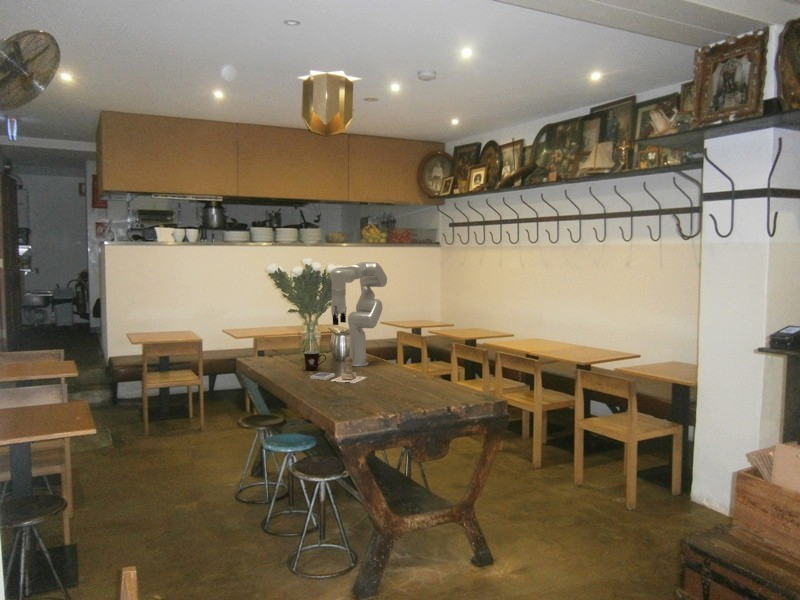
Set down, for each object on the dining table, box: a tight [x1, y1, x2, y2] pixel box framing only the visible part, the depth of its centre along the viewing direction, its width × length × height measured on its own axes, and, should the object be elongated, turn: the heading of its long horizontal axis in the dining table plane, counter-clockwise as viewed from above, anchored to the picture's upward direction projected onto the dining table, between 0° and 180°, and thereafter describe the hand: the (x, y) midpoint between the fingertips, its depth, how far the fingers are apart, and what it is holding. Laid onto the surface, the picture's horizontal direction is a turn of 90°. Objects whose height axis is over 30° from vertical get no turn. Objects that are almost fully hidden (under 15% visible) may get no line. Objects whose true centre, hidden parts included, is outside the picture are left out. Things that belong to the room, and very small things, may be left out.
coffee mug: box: [303, 350, 327, 372], centre depth 350 cm, size 12×9×10 cm
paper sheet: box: [330, 375, 368, 384], centre depth 326 cm, size 15×14×1 cm
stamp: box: [340, 356, 357, 380], centre depth 325 cm, size 6×5×12 cm
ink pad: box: [309, 372, 336, 381], centre depth 330 cm, size 11×9×2 cm
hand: (339, 323), depth 343 cm, fingers open, 9 cm apart
